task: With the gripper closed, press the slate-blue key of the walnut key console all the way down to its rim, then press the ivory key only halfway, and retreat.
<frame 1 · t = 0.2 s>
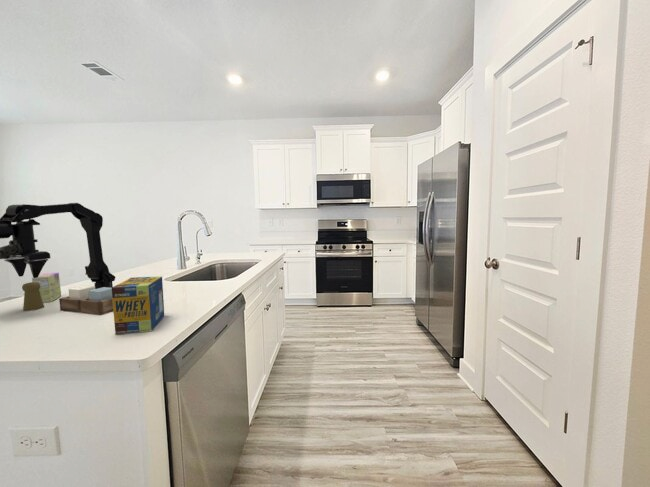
hand: (28, 277, 107), 14 cm above the table, fingers open, 9 cm apart
ivory key: (82, 292, 114), point 6 cm above the table, slide at 0.0 cm
box: (48, 300, 126), on the table
slate key: (102, 294, 111), point 7 cm above the table, slide at 0.0 cm
console: (93, 308, 113), on the table
protein box: (142, 325, 96), on the table
cork: (33, 309, 114), on the table
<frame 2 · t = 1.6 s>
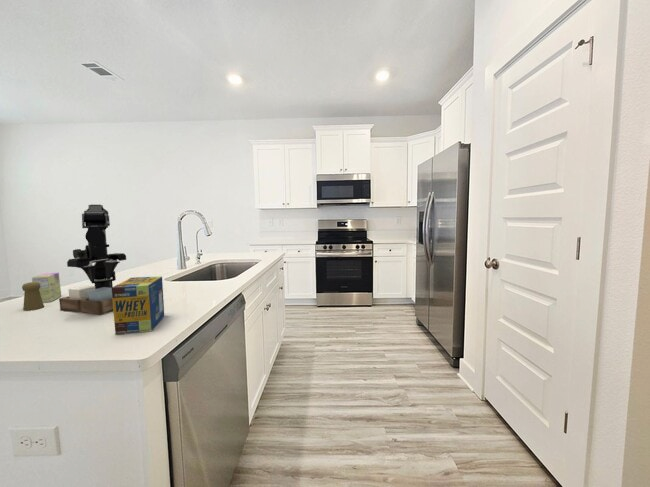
hand: (100, 280, 111), 12 cm above the table, fingers open, 6 cm apart
nothing on the table moved.
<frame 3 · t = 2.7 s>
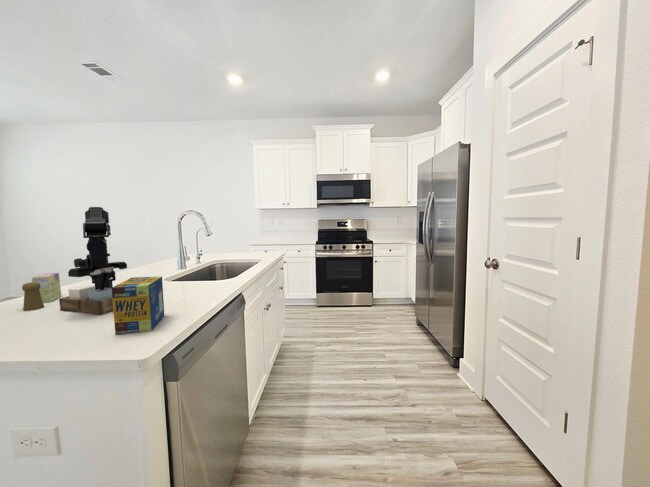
hand: (101, 289, 111), 8 cm above the table, fingers closed, pressing on slate key
slate key: (102, 294, 111), point 6 cm above the table, slide at 0.2 cm, touching gripper
everything else where it was.
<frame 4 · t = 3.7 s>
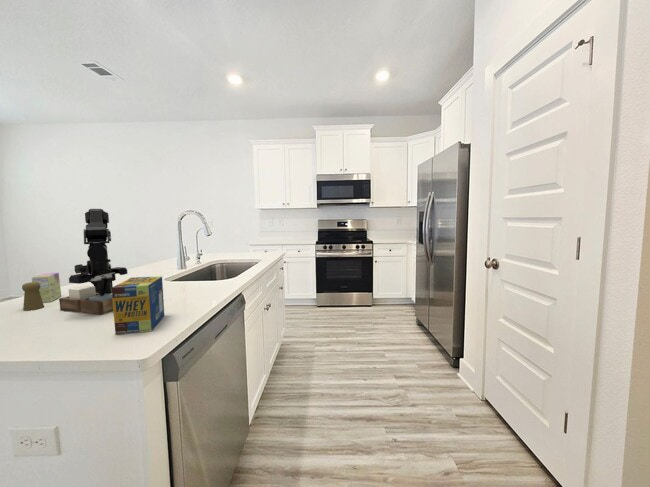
hand: (102, 295, 111), 6 cm above the table, fingers closed
slate key: (102, 300, 111), point 4 cm above the table, slide at 2.7 cm
everything else where it was.
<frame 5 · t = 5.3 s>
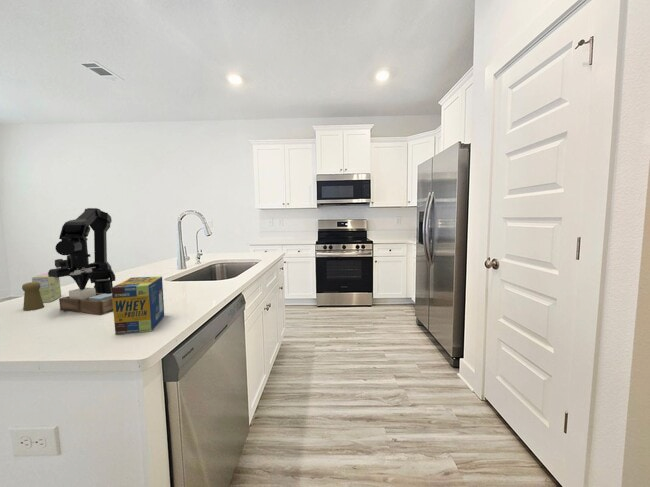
hand: (82, 289, 114), 8 cm above the table, fingers closed, pressing on ivory key
ivory key: (82, 294, 114), point 6 cm above the table, slide at 0.8 cm, touching gripper
everything else where it was.
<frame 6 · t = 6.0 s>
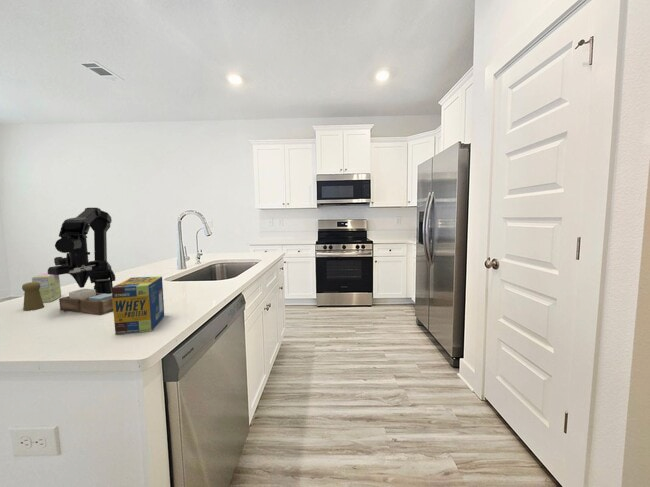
hand: (81, 287, 114), 9 cm above the table, fingers closed
ivory key: (82, 295, 114), point 5 cm above the table, slide at 1.3 cm
everything else where it was.
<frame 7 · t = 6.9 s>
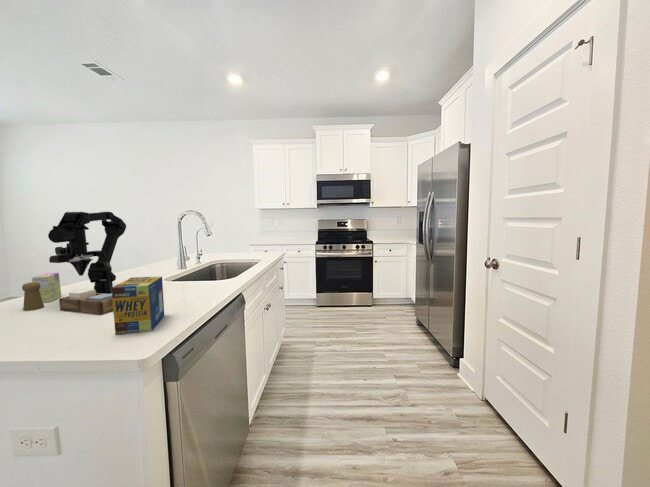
hand: (81, 275, 122), 12 cm above the table, fingers closed
nothing on the table moved.
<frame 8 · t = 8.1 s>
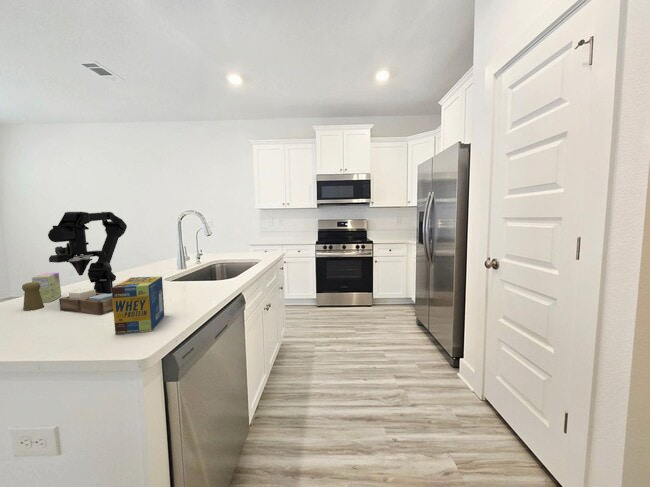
hand: (80, 275, 122), 12 cm above the table, fingers closed
nothing on the table moved.
at the end: slate key slide at 2.7 cm; ivory key slide at 1.3 cm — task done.
